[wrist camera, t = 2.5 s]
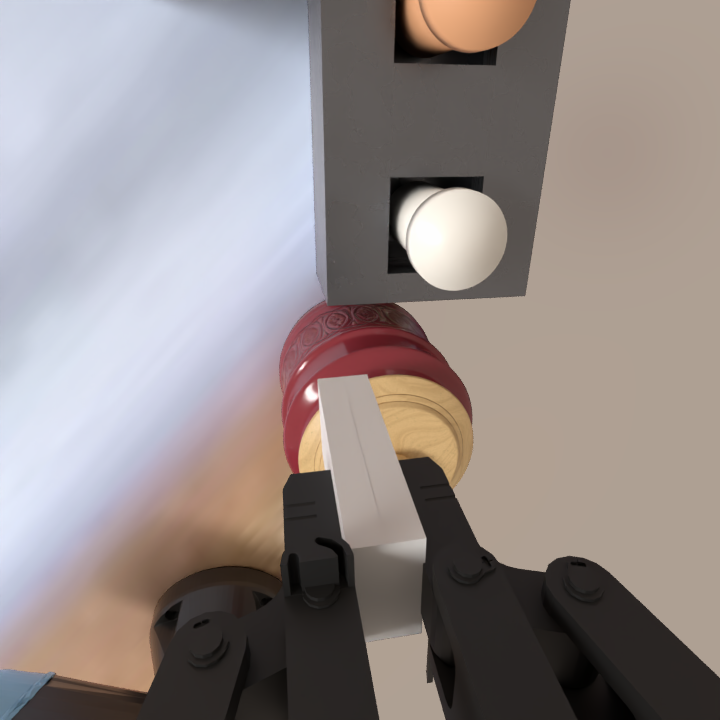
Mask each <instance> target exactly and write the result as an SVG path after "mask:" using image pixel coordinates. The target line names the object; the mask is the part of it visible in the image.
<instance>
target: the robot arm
mask: <svg viewBox="0 0 720 720" xmlns="http://www.w3.org/2000/svg"><path fill="white" fill-rule="evenodd" d="M317 381H318V396H319V410H320V425H321V440H322V454H323V460H324V467H325V470H322V471H314V472H305V473H297V474H291V475H290V477H289V478H288V480H287V482H286V484H285V486H284V488H283V507H284V509H283V510H284V541H285V551H284V553H283V555H282V560H281V564H280V567H281V575H282V582H283V583H282V582H281V581H279V580H278V579H276V578H275V577H273V576H271V575H269V574H267V573H264V572H262V571H258V570H254V569H250V568H243V567H222V568H214V569H209V570H205V571H201V572H198V573H195V574H193V575H191V576H188V577H186V578H184V579H182V580H181V581H179V582H177V583H176V584H175V585H173V586H172V587H171V588H170V589H169V590H168V591H166V593H165V594H164V595H163V596H162V597H161V599H160V600H159V602H158V604H157V606H156V608H155V611H154V615H153V619H152V624H151V629H150V648H151V655H152V662H153V668H154V675H155V678H154V680H153V682H152V684H151V687H150V689H149V691H148V693H147V692H141V691H136V690H130V689H125V688H119V687H114V686H108V685H102V684H97V683H91V682H87V681H82V680H77V679H72V678H67V677H62V676H57V675H56V673H54V672H48V673H47V674H43V673H34V672H25V671H17V670H10V669H4V670H0V720H379V715H378V710H377V705H376V699H375V694H374V688H373V682H372V677H371V671H370V666H369V660H368V655H367V649H366V643H365V642H371V641H377V640H383V639H389V638H395V637H401V636H407V635H413V634H419V633H421V632H422V618H423V622H424V625H425V629H426V632H427V635H428V654H427V670H426V673H427V683H431V682H432V681H433V677H434V680H435V684H436V687H437V691H438V694H439V698H440V701H441V704H442V708H443V712H444V715H445V719H446V720H720V678H719V677H718V676H717V675H716V674H715V673H714V672H713V671H712V670H711V669H710V668H709V667H708V666H706V664H704V663H703V661H701V660H700V659H699V658H698V657H697V656H696V655H695V654H694V653H693V652H692V651H691V650H690V649H689V648H688V647H687V646H686V645H685V644H683V642H682V641H680V640H679V639H678V638H677V637H676V636H675V635H674V634H673V633H672V632H671V631H670V630H669V629H668V628H667V627H666V626H665V625H664V624H663V623H662V622H660V620H659V619H657V618H656V617H655V616H654V615H653V614H652V613H651V612H650V611H649V610H648V609H647V608H646V607H645V606H644V605H643V604H642V603H641V602H640V601H639V600H637V599H636V598H635V597H634V596H633V595H632V594H631V593H630V592H629V591H628V590H627V589H626V588H625V587H624V586H623V585H622V584H621V583H619V581H618V580H617V579H616V578H614V577H613V576H612V575H611V574H610V573H609V572H608V571H606V570H605V569H604V568H602V567H601V566H600V565H598V564H597V563H594V562H592V561H589V560H587V559H585V558H580V557H573V556H567V557H562V558H557V559H556V560H554V561H553V562H551V563H550V564H549V565H548V568H547V570H546V572H538V571H531V570H524V569H517V568H513V567H509V566H506V565H504V564H501V563H499V562H498V561H497V560H496V559H495V557H494V556H493V555H492V554H491V553H489V552H488V551H486V550H485V549H484V548H482V547H480V545H479V544H478V542H477V540H476V538H475V536H474V534H473V532H472V530H471V528H470V525H469V523H468V521H467V519H466V517H465V515H464V513H463V511H462V509H461V507H460V504H459V502H458V500H457V498H455V494H454V492H453V490H452V488H451V486H450V485H449V481H448V479H447V477H446V475H445V473H444V471H443V469H442V468H441V467H440V466H439V465H438V464H437V463H435V462H434V461H433V460H432V459H431V458H429V457H421V458H413V459H404V460H398V459H397V456H396V453H395V450H394V448H393V445H392V442H391V439H390V436H389V434H388V431H387V428H386V425H385V423H384V420H383V417H382V414H381V412H380V409H379V406H378V403H377V401H376V398H375V395H374V392H373V390H372V387H371V384H370V381H369V379H368V376H367V374H365V375H354V376H343V377H333V378H322V379H317Z"/></svg>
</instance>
